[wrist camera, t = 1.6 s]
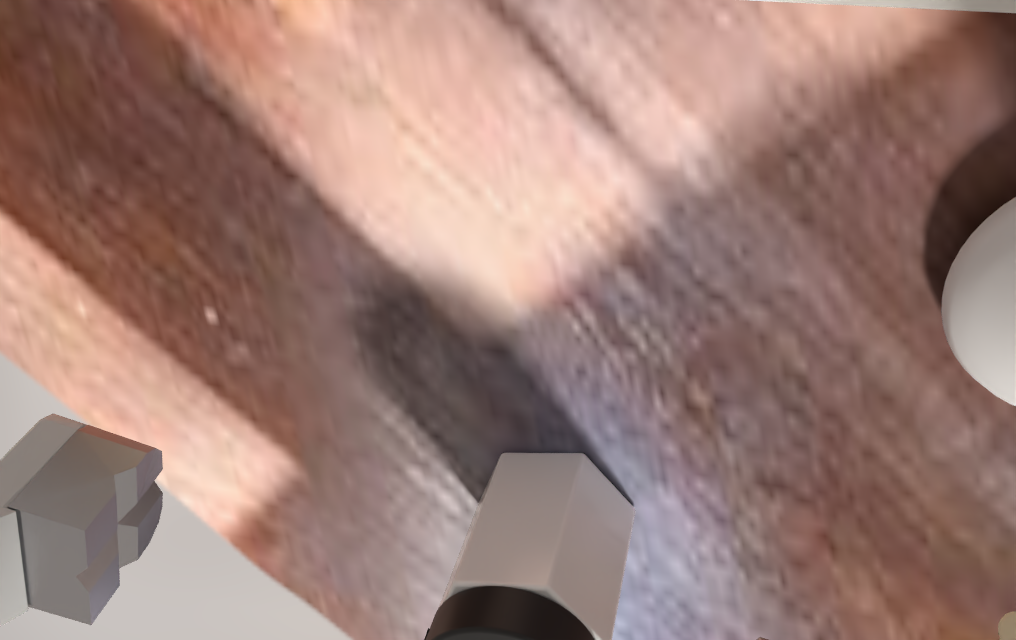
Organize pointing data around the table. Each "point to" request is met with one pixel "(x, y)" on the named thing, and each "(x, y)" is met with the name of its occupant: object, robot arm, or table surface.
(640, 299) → the table surface
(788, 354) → the table surface
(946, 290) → the flower in vase
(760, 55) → the table surface
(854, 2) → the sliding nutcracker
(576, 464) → the jar
